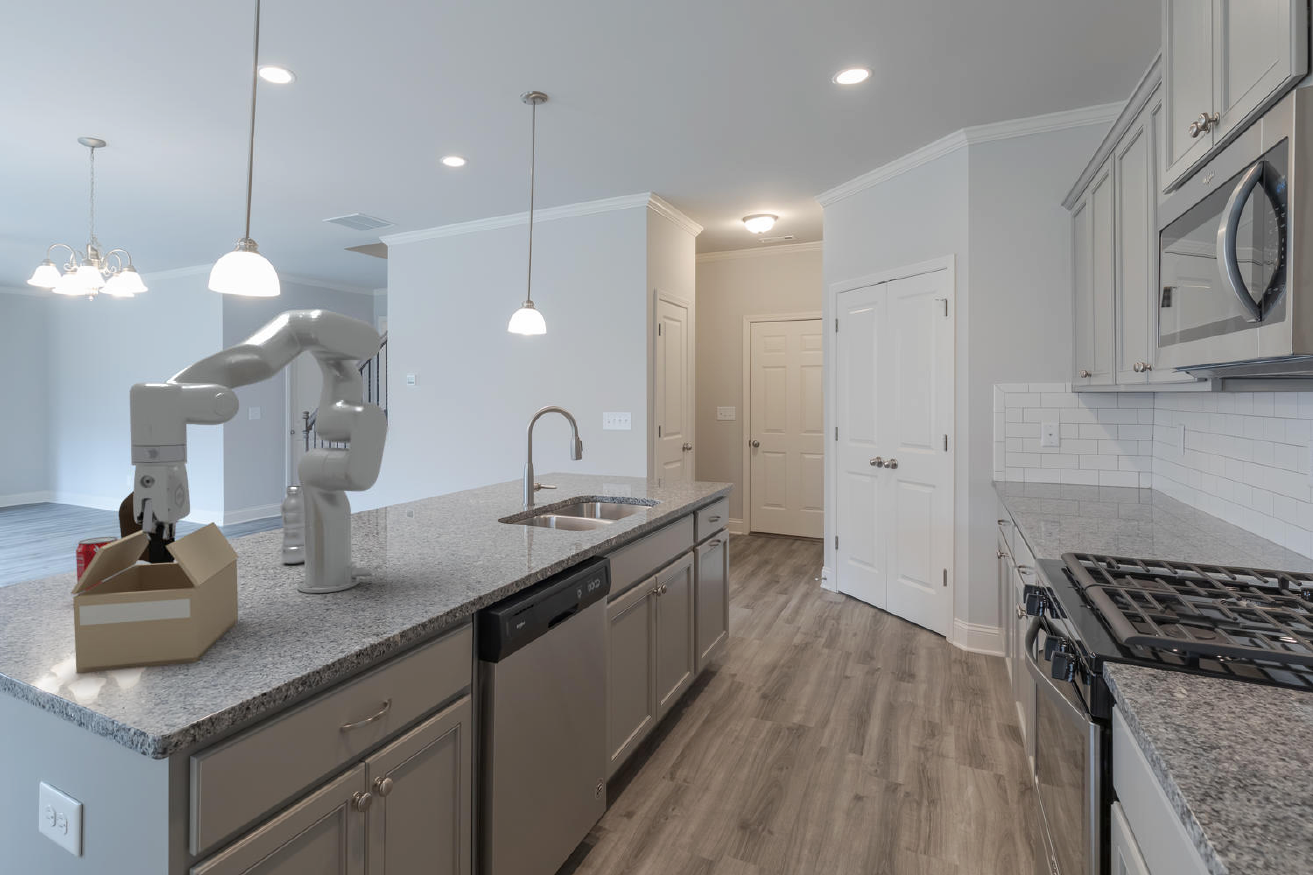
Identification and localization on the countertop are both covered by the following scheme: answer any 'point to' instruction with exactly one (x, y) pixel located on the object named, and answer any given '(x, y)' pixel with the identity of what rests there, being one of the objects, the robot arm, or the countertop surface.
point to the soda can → (89, 553)
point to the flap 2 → (202, 553)
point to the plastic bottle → (293, 526)
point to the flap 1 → (112, 560)
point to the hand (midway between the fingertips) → (162, 561)
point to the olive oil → (131, 523)
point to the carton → (152, 617)
